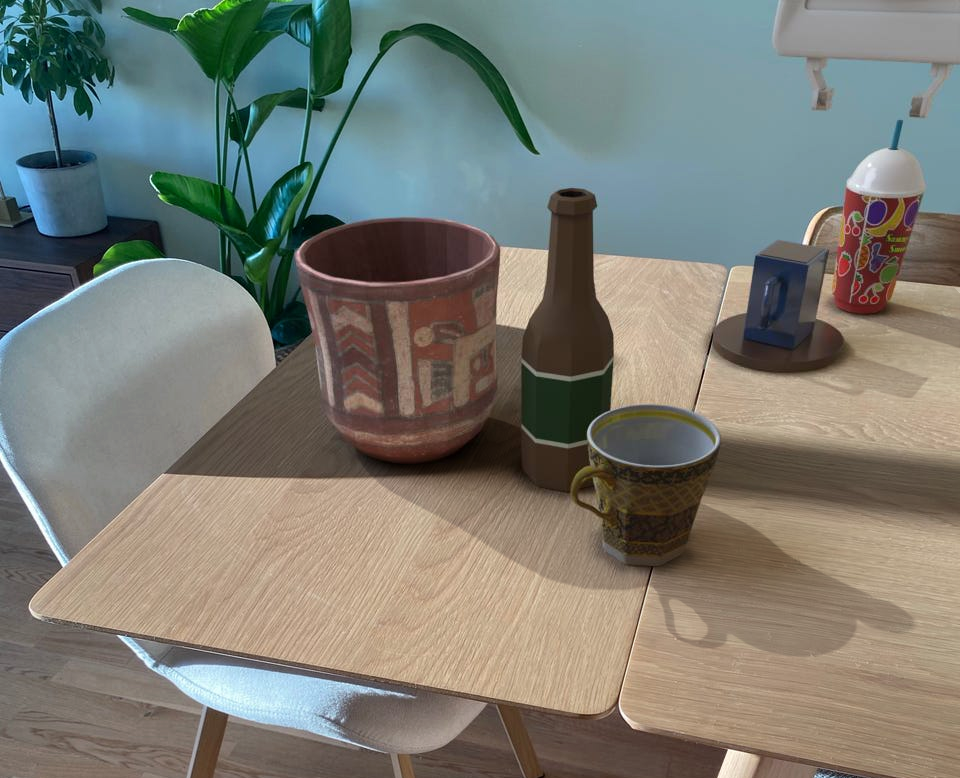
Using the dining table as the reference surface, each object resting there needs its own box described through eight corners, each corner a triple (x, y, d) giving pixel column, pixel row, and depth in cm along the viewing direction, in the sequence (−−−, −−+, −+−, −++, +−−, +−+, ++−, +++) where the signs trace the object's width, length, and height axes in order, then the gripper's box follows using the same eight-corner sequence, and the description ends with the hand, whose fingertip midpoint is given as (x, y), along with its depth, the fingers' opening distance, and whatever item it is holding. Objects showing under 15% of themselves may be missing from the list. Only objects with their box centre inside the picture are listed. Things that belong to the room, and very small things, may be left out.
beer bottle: (560, 442, 93) (567, 172, 78) (624, 469, 89) (645, 190, 73) (503, 472, 89) (499, 194, 74) (567, 503, 85) (578, 215, 69)
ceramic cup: (644, 498, 85) (654, 391, 79) (731, 548, 79) (749, 437, 72) (528, 552, 79) (529, 441, 73) (612, 611, 73) (620, 496, 67)
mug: (764, 320, 111) (777, 238, 105) (813, 331, 108) (829, 247, 102) (732, 346, 106) (744, 261, 100) (783, 358, 103) (798, 272, 97)
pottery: (309, 484, 88) (276, 286, 77) (332, 397, 102) (308, 217, 90) (503, 480, 88) (501, 281, 76) (502, 393, 101) (499, 212, 90)
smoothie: (886, 323, 112) (933, 133, 99) (814, 311, 116) (850, 125, 103) (902, 299, 118) (948, 115, 105) (832, 288, 121) (869, 108, 108)
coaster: (859, 336, 110) (861, 326, 109) (815, 383, 101) (817, 372, 100) (742, 312, 116) (743, 302, 115) (691, 354, 107) (692, 344, 107)
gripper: (1035, -67, 83) (990, 113, 92) (802, -64, 93) (781, 99, 101) (1019, -59, 79) (973, 128, 88) (776, -57, 89) (757, 112, 98)
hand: (868, 113), depth 95 cm, fingers open, 8 cm apart
